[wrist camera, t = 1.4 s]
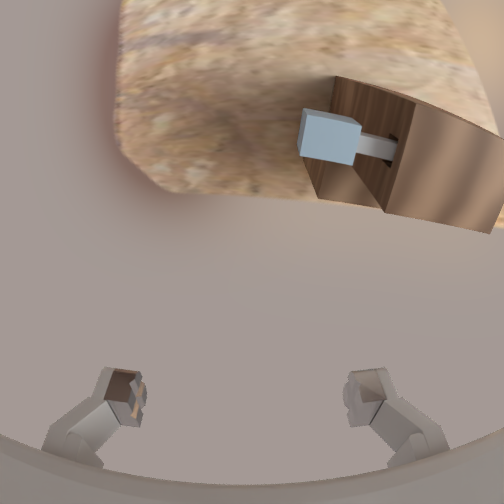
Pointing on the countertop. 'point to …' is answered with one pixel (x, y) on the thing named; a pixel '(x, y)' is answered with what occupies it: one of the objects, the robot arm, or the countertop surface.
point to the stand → (415, 161)
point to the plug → (339, 138)
